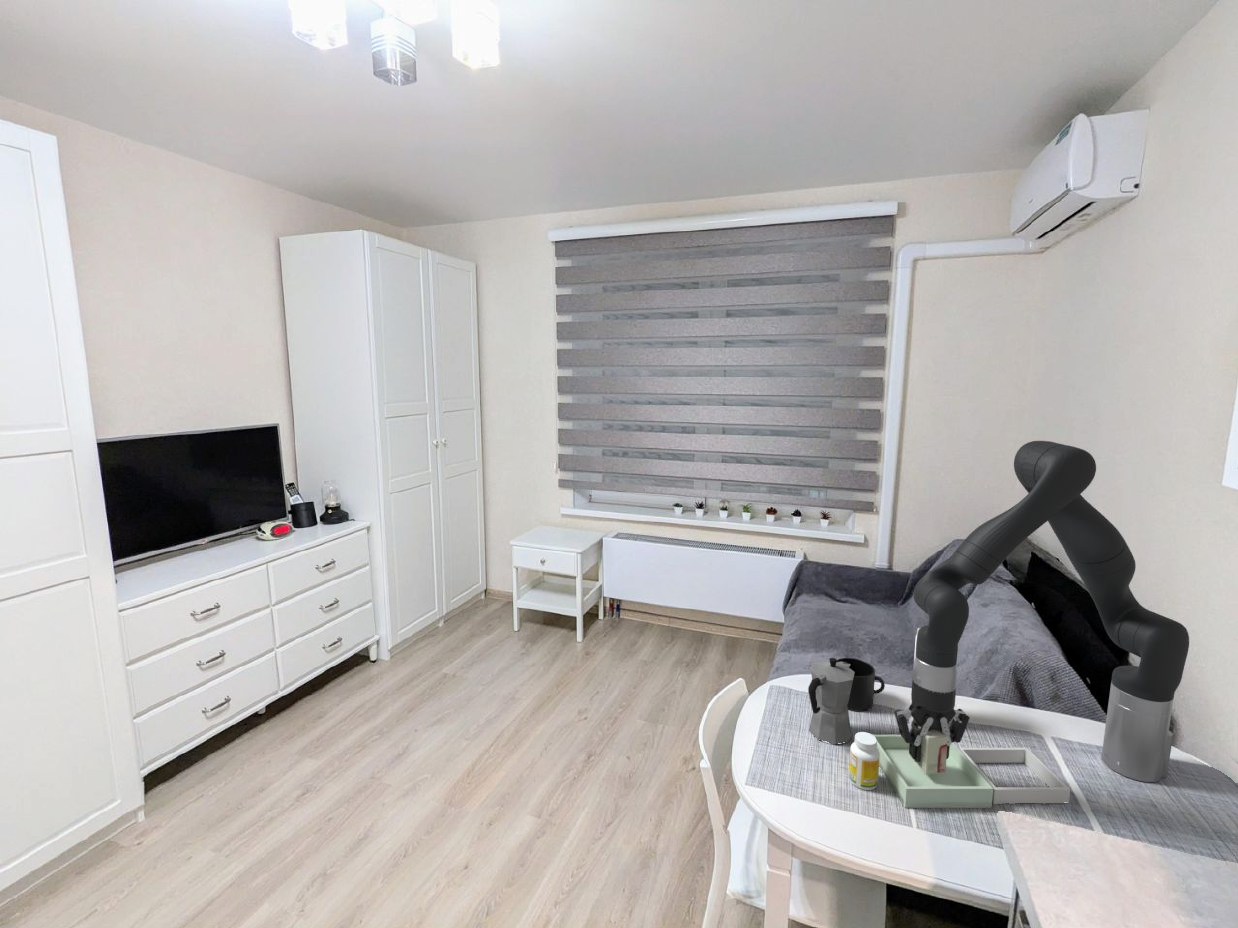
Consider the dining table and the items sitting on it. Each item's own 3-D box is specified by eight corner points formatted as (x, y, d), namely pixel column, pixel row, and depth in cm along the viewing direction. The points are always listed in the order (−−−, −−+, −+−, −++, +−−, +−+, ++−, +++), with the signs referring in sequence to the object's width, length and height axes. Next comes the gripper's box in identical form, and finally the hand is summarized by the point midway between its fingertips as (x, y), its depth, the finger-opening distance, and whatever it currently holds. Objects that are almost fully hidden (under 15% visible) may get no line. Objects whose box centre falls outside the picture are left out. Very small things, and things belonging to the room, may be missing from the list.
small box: (946, 773, 112) (949, 736, 110) (925, 774, 111) (928, 737, 110) (930, 756, 117) (933, 720, 115) (910, 757, 116) (912, 722, 115)
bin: (944, 751, 122) (946, 734, 122) (991, 807, 106) (993, 788, 106) (869, 751, 123) (870, 734, 122) (904, 807, 107) (906, 788, 106)
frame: (1024, 760, 119) (1026, 747, 119) (1068, 803, 107) (1070, 789, 107) (957, 760, 119) (958, 747, 119) (993, 803, 107) (994, 789, 107)
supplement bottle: (844, 782, 114) (846, 738, 112) (854, 768, 118) (857, 725, 116) (872, 795, 110) (874, 750, 108) (881, 780, 114) (884, 737, 112)
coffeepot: (826, 711, 137) (830, 641, 134) (864, 730, 130) (868, 656, 127) (789, 738, 127) (791, 663, 125) (827, 759, 120) (831, 680, 117)
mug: (889, 714, 136) (891, 679, 134) (836, 709, 138) (837, 675, 136) (878, 692, 145) (880, 659, 143) (828, 688, 147) (830, 656, 145)
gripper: (960, 669, 115) (953, 746, 117) (888, 670, 115) (883, 747, 118) (983, 690, 107) (975, 772, 110) (906, 691, 108) (901, 772, 110)
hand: (928, 758), depth 114 cm, fingers closed on small box, 4 cm apart
